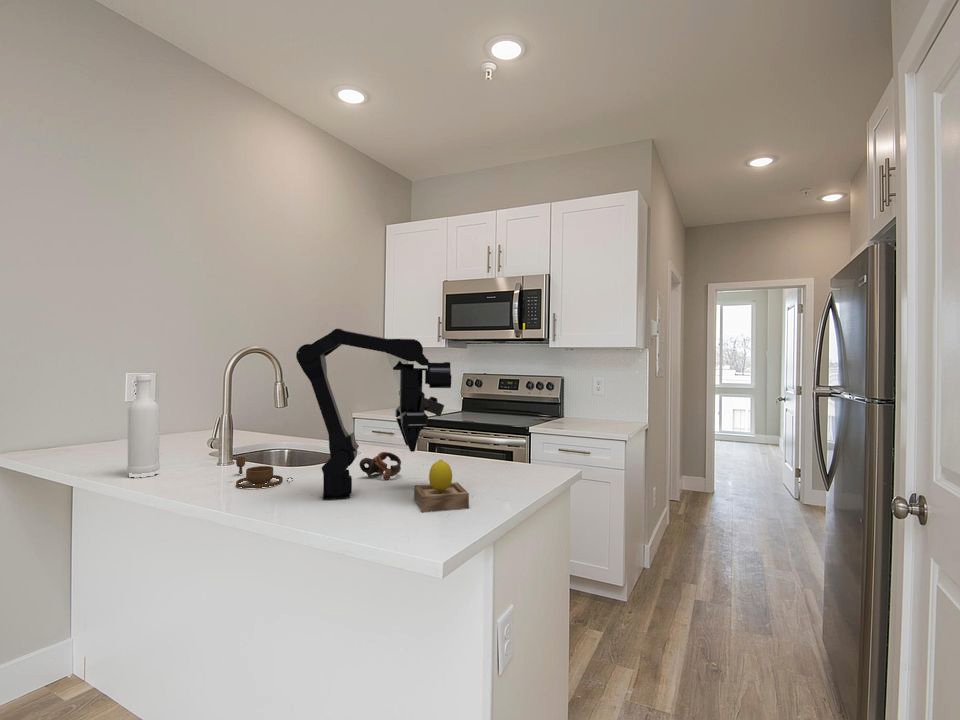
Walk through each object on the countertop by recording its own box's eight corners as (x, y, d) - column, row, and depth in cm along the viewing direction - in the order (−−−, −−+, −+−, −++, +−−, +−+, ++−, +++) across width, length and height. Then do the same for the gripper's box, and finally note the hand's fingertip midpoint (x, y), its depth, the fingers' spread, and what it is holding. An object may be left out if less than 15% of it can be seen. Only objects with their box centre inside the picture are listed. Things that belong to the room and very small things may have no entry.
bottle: (122, 479, 145) (122, 375, 145) (134, 473, 153) (134, 374, 153) (153, 477, 147) (153, 375, 147) (163, 471, 155) (163, 374, 155)
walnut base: (422, 512, 114) (422, 496, 114) (414, 499, 124) (414, 485, 124) (468, 508, 117) (468, 493, 117) (457, 495, 128) (457, 482, 128)
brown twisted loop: (391, 473, 156) (400, 451, 153) (396, 493, 148) (406, 471, 145) (353, 467, 150) (362, 444, 148) (356, 487, 142) (367, 464, 140)
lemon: (429, 490, 123) (429, 457, 123) (451, 489, 124) (451, 457, 124) (428, 496, 118) (428, 462, 118) (452, 495, 118) (452, 461, 118)
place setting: (219, 493, 132) (219, 471, 132) (234, 476, 151) (234, 457, 151) (290, 488, 136) (290, 467, 136) (296, 473, 156) (296, 454, 156)
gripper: (449, 390, 123) (447, 454, 123) (435, 386, 141) (434, 441, 141) (403, 390, 120) (402, 455, 120) (395, 385, 138) (394, 442, 138)
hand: (410, 448), depth 130 cm, fingers open, 9 cm apart
